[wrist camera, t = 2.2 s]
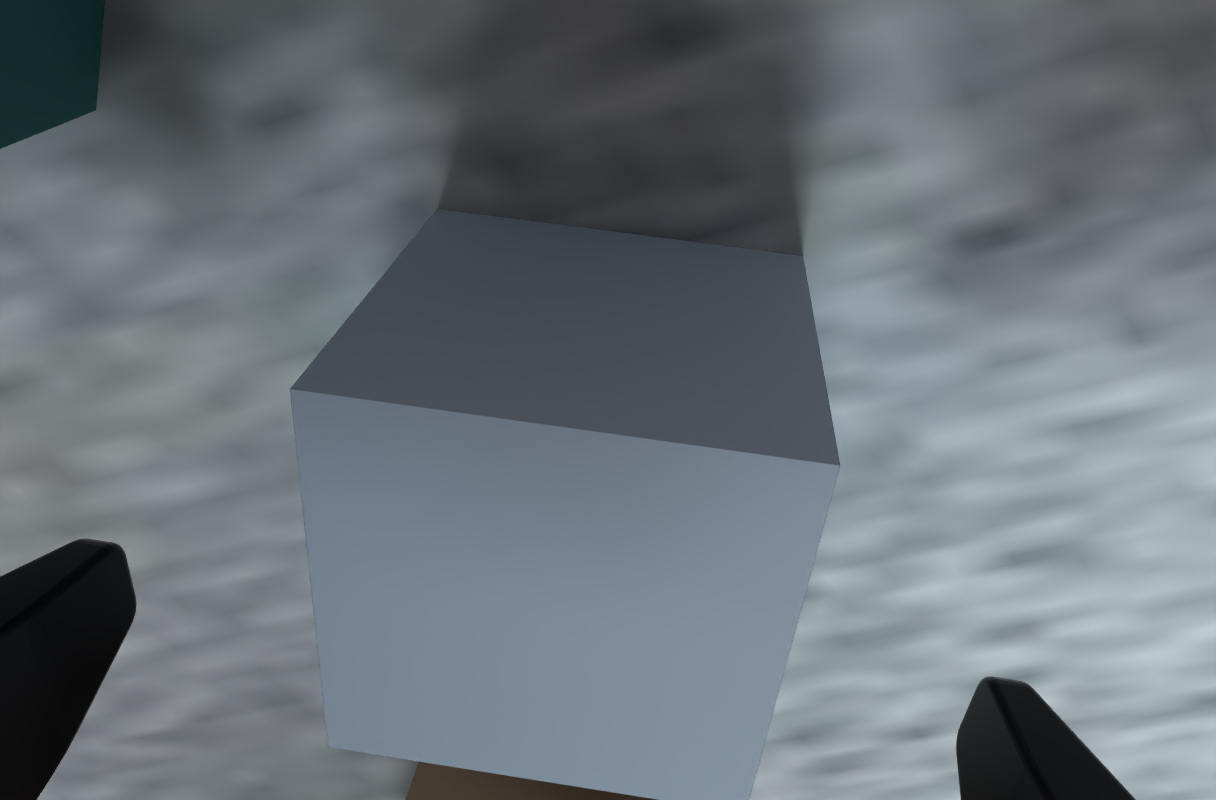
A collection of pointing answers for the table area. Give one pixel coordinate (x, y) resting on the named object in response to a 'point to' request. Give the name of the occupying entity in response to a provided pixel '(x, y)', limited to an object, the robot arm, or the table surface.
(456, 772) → the walnut cube
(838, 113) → the table surface
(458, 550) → the blue cube
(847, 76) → the table surface
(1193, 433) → the table surface
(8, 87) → the bracket
